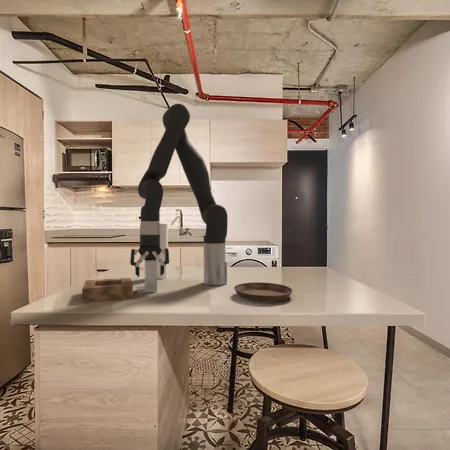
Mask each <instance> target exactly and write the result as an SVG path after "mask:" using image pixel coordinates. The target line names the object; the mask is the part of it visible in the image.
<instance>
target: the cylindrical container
mask: <svg viewBox="0 0 450 450" xmlns="http://www.w3.org/2000/svg"><path fill="white" fill-rule="evenodd" d="M160 248H161V249H165V248H168V249H169V223H163V222H161V223H160ZM159 257H160V258H161V260H162V261H165V254H163V252H162V251H161V253H160V254H159ZM156 260H157V259H156ZM160 265H161V264H160V263H159V261H158V260H157V280H165V279H164V278H166V279H169V264H166V265H165V266H164V274H163V275H162V276H161V275H160Z"/></svg>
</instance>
